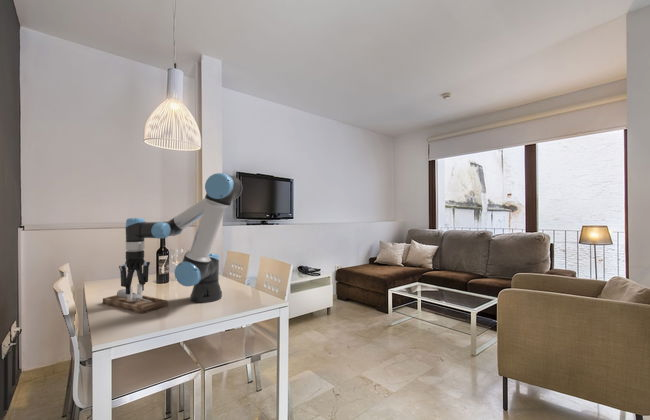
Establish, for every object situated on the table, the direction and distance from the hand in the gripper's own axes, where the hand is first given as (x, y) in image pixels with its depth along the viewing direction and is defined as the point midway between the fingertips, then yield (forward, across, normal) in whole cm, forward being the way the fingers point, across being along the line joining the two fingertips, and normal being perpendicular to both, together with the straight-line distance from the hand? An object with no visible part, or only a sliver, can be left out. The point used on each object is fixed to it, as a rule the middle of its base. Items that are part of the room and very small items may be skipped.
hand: (134, 299), depth 142 cm
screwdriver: (+1, 0, 0) cm, 1 cm away
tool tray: (+3, 0, 0) cm, 3 cm away
